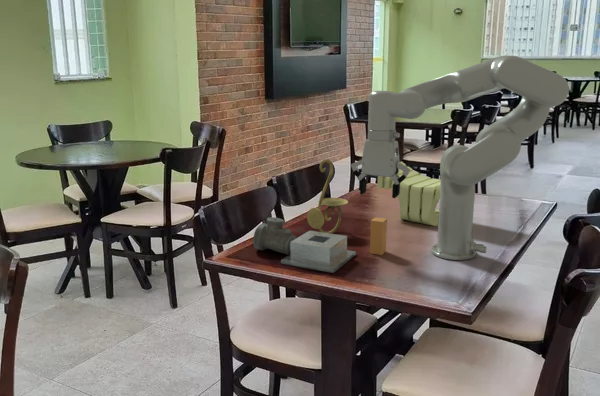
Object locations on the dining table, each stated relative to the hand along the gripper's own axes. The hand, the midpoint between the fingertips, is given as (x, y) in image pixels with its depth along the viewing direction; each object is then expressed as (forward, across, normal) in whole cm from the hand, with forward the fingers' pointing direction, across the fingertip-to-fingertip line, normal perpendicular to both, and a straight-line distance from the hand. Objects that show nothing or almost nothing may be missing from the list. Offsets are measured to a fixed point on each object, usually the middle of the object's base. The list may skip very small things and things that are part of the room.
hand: (378, 195), depth 167 cm
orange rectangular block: (+17, 0, 0) cm, 17 cm away
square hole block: (+17, +13, +13) cm, 25 cm away
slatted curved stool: (+17, -3, -40) cm, 44 cm away
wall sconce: (+18, +20, -9) cm, 28 cm away
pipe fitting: (+18, +27, +13) cm, 35 cm away
